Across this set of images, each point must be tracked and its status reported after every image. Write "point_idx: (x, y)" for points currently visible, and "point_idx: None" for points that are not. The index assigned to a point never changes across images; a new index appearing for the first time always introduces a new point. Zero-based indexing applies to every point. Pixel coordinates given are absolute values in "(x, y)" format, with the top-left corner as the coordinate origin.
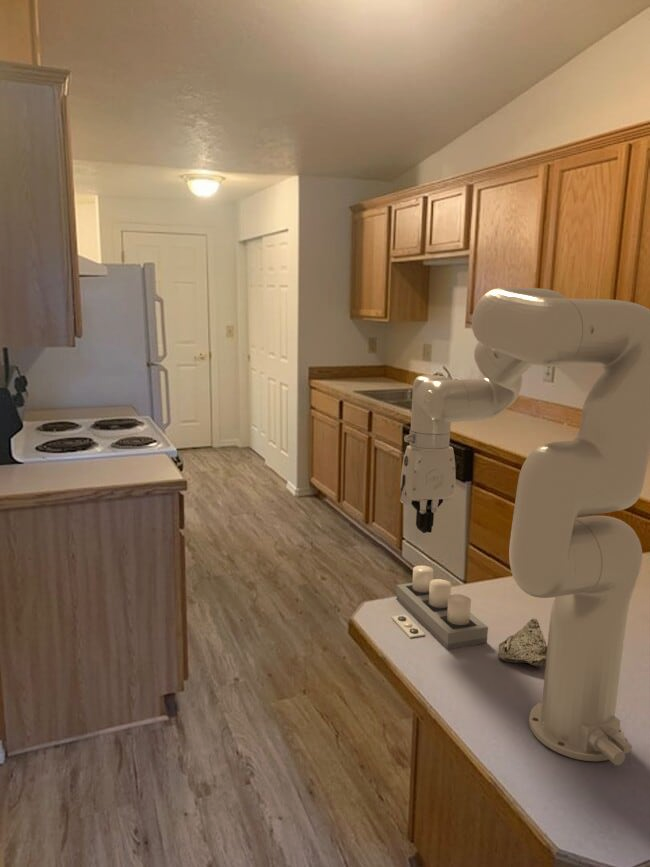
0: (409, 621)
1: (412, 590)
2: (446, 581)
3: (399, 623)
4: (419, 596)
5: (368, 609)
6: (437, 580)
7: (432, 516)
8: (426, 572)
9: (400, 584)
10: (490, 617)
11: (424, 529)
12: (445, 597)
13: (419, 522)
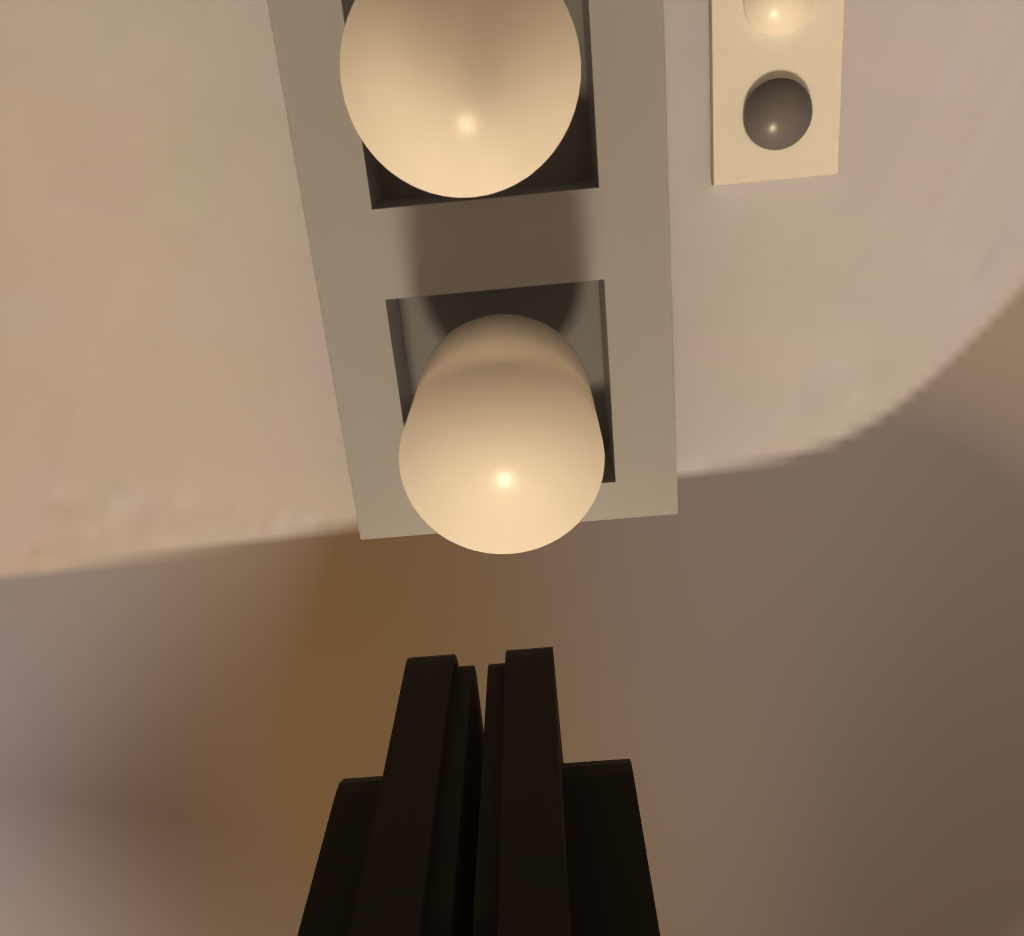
0: (736, 59)
1: None
2: (370, 113)
3: (831, 40)
4: (581, 272)
5: (932, 346)
6: (461, 162)
7: (362, 883)
8: (497, 387)
9: (644, 514)
10: (37, 17)
11: (552, 683)
12: None
13: (642, 830)
